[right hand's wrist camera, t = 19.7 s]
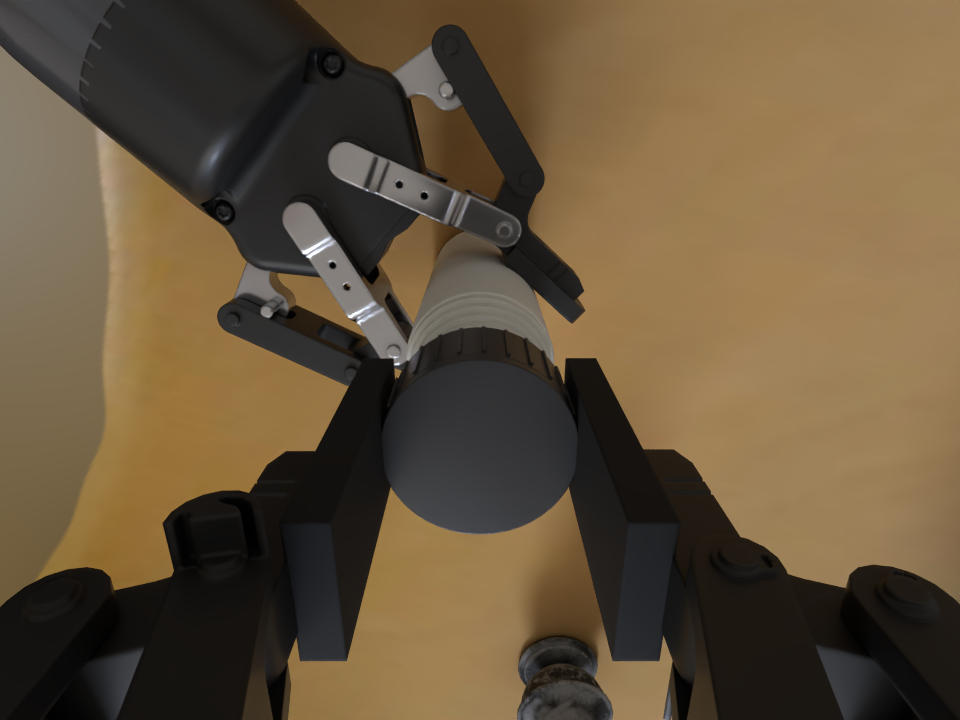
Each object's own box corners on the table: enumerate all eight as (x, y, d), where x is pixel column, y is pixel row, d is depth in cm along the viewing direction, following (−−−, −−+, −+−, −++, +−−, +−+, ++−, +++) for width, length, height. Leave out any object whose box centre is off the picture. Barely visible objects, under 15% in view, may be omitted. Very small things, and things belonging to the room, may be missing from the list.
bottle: (456, 330, 30) (430, 543, 14) (419, 249, 28) (345, 389, 13) (538, 298, 29) (604, 484, 14) (505, 213, 28) (537, 314, 12)
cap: (363, 356, 14) (344, 393, 12) (540, 300, 14) (550, 329, 12) (427, 501, 16) (419, 557, 14) (587, 456, 15) (604, 506, 13)
